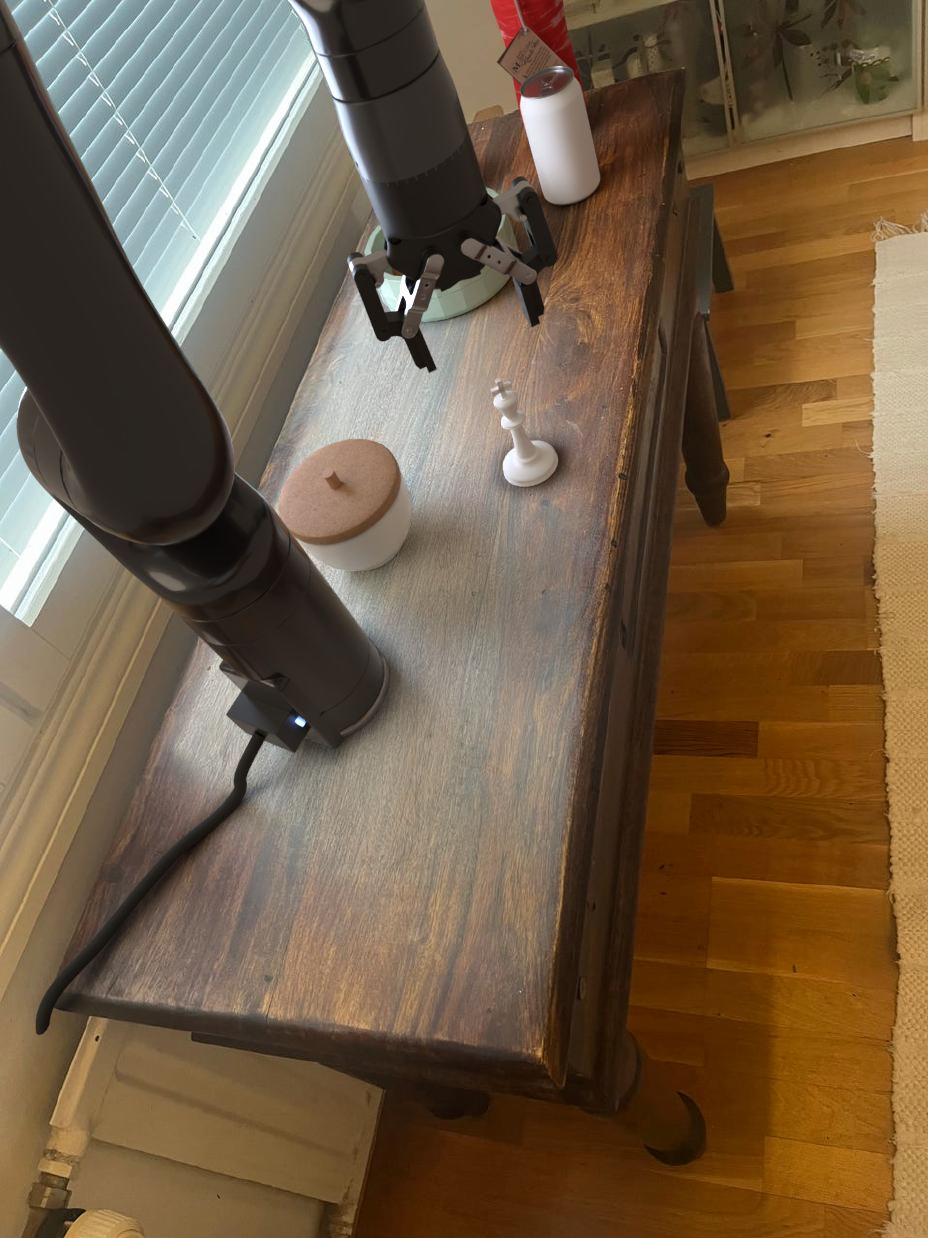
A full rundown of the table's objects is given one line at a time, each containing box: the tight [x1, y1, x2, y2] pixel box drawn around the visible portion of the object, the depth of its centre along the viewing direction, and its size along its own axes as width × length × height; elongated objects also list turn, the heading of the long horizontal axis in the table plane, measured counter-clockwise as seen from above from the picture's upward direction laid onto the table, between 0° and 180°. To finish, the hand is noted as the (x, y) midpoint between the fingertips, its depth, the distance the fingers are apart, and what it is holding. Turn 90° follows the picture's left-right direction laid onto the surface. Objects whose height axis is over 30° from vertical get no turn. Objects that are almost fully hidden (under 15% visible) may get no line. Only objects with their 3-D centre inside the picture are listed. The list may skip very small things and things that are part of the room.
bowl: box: [364, 187, 520, 323], centre depth 99 cm, size 16×16×6 cm
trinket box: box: [278, 438, 413, 572], centre depth 79 cm, size 11×11×9 cm
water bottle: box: [489, 0, 588, 129], centre depth 100 cm, size 12×8×25 cm, turn 166°
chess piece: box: [489, 377, 559, 488], centre depth 78 cm, size 5×5×10 cm
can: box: [520, 66, 601, 207], centre depth 98 cm, size 6×6×12 cm
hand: (481, 342), depth 71 cm, fingers open, 8 cm apart
